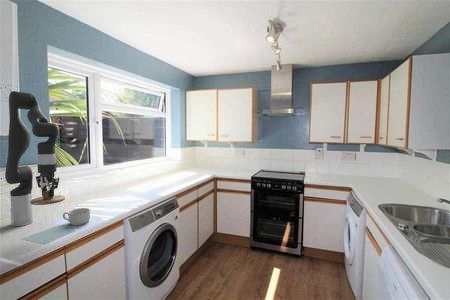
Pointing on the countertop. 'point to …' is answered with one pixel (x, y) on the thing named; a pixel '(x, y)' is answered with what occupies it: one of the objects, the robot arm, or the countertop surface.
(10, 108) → the robot arm
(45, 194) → the lid
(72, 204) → the countertop surface
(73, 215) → the teacup
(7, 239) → the countertop surface
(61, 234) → the mat
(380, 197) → the countertop surface
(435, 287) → the countertop surface
